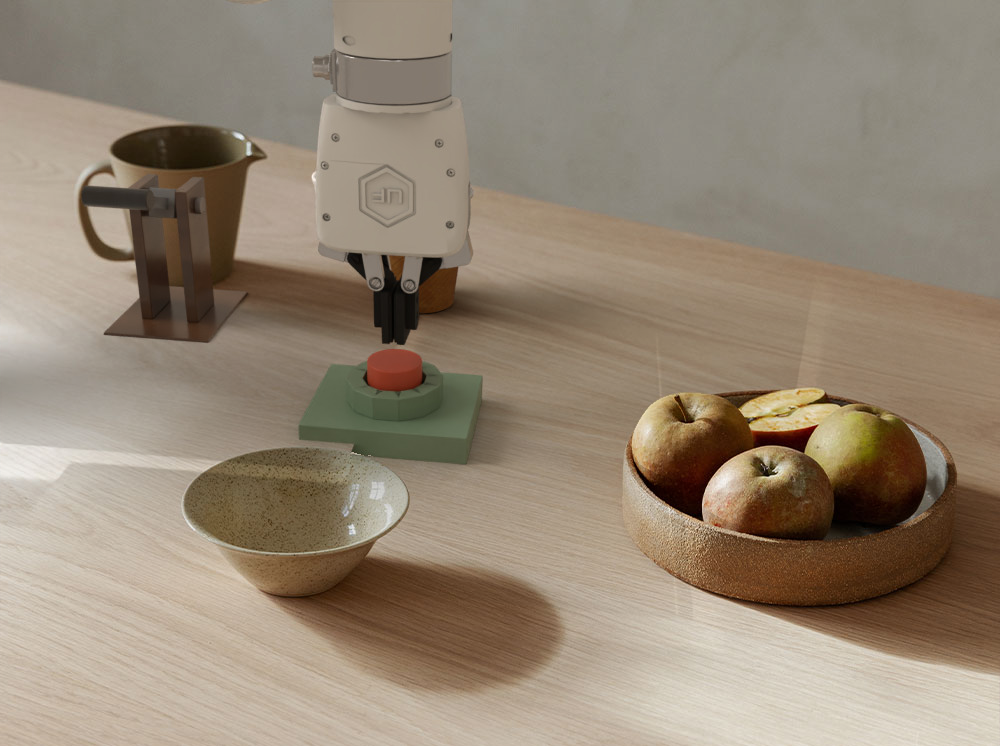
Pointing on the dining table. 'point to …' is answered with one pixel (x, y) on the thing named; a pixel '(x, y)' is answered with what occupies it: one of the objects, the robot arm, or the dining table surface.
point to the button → (394, 370)
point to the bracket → (197, 303)
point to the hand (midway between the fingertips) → (396, 336)
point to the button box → (396, 415)
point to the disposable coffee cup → (431, 285)
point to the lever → (132, 199)
